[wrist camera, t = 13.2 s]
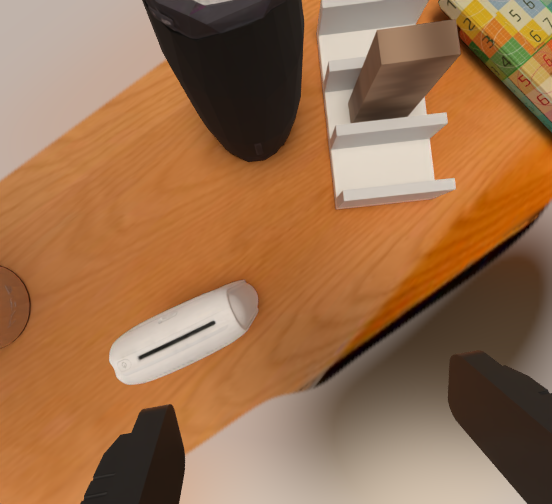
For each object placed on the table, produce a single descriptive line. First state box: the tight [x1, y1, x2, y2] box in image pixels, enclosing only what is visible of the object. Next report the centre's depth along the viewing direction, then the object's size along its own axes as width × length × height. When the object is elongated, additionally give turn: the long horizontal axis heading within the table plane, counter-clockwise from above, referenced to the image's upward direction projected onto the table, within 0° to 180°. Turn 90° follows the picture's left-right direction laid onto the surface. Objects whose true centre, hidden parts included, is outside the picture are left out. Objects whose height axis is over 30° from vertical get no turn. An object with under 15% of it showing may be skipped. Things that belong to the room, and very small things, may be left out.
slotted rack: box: [317, 0, 456, 209], centre depth 30 cm, size 10×19×4 cm, turn 6°
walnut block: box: [348, 19, 461, 123], centre depth 26 cm, size 6×2×10 cm, turn 97°
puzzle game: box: [438, 0, 552, 132], centre depth 30 cm, size 12×5×20 cm
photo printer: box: [109, 280, 259, 385], centre depth 26 cm, size 10×4×12 cm, turn 115°
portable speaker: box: [142, 0, 304, 162], centre depth 23 cm, size 9×9×20 cm
